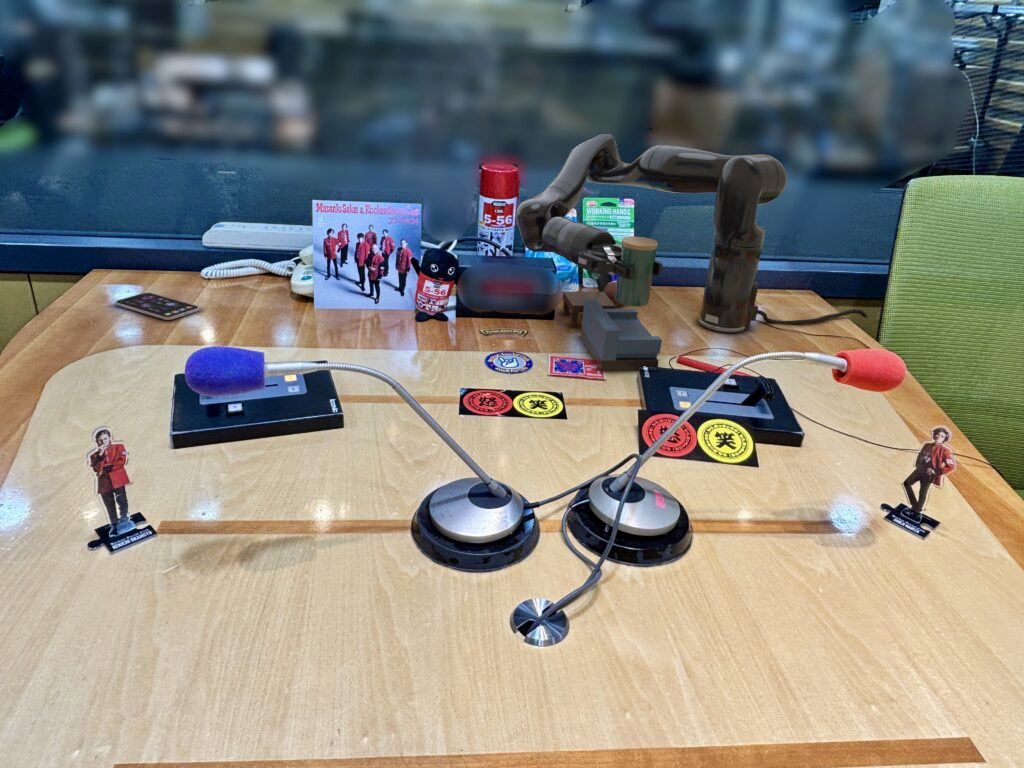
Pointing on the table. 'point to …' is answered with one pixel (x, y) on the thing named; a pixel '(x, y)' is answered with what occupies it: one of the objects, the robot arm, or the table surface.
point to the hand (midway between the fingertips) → (646, 271)
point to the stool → (582, 303)
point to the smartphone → (157, 306)
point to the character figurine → (608, 286)
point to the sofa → (618, 338)
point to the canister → (636, 271)
